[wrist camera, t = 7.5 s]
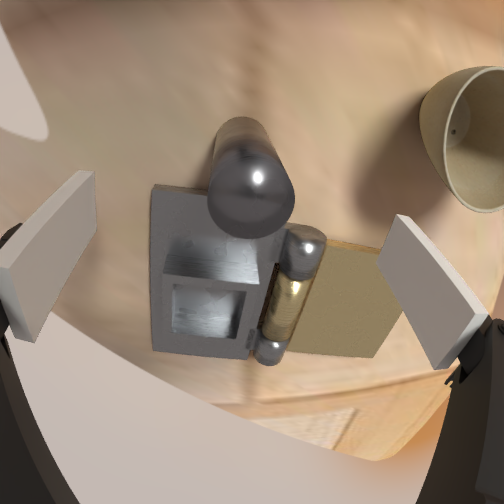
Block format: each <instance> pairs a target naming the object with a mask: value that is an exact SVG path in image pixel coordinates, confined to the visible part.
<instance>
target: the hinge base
mask: <svg viewBox="0 0 504 504" xmlns="http://www.w3.org/2000/svg"><path fill="white" fill-rule="evenodd" d="M207 195H208V190H202V189H194V188H185V187H176V186H167V185H158V184H155V185H154V187H153V189H152V203H151V237H150V286H151V320H152V341H153V351H160V352H168V353H176V354H185V355H194V356H205V357H216V358H228V359H241V360H247V359H248V355H249V352H250V350H254V351H253V354H254V357H255V359H256V360H257V361H258V362H259V363H261V364H263V365H266V366H274V365H277V364H278V363H279V362H280V361H281V359H282V357H283V355H284V352H285V350H286V347H287V345H288V342H289V340H290V337H289V338H288V339H287V340H286V341H283V342H274V341H271V340H269V339H268V338H266V337H265V336H264V334H263V333H262V325H263V322H258V321H259V318H260V314H261V311H262V307H263V304H264V300H265V297H266V293H267V289H268V286H269V282H270V279H271V275H272V272H273V268H274V264H275V262H276V263H279V267H280V269H281V271H282V272H283V273H284V274H285V275H287V276H288V277H290V278H293V279H296V280H309V279H312V278H313V277H314V275H315V273H316V270H317V267H318V265H319V262H320V259H321V256H322V254H323V251H324V248H325V245H326V242H327V238H326V236H325V235H324V234H323V233H322V232H321V231H319V230H318V229H316V228H313V227H311V226H307V225H300V224H294V223H287V222H286V223H285V224H284V225H283V226H282V227H281V228H280V229H279V230H277V231H276V232H274V233H273V234H271V235H268V236H266V237H263V238H258V239H241V238H237V237H234V236H231V235H229V234H227V233H225V232H224V231H223V230H221V229H220V228H219V227H218V226H217V225H216V224H215V223H214V221H213V220H212V218H211V216H210V213H209V210H208V206H207Z"/></svg>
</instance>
